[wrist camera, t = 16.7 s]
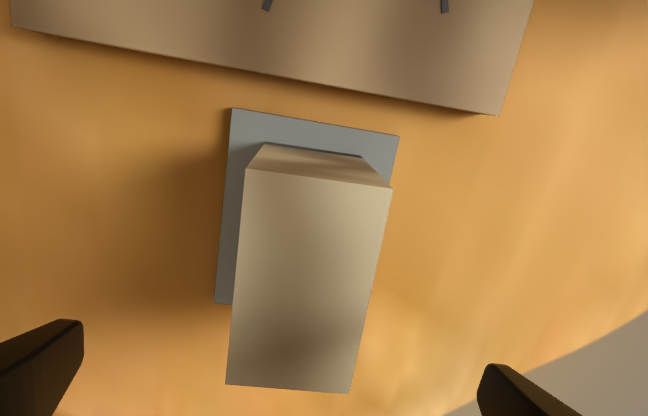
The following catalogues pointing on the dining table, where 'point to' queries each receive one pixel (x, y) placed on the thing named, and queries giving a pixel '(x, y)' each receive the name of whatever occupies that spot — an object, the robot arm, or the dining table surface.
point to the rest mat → (261, 127)
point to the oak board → (316, 40)
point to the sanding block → (304, 267)
